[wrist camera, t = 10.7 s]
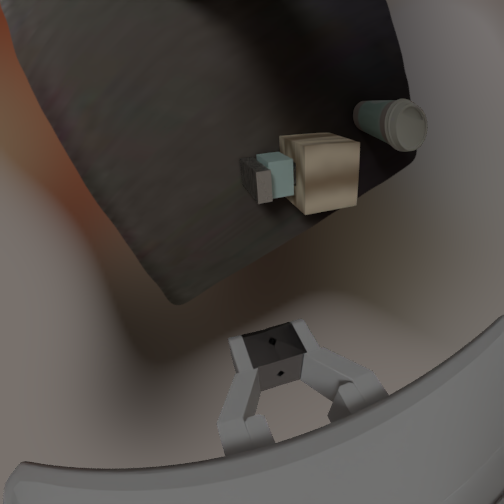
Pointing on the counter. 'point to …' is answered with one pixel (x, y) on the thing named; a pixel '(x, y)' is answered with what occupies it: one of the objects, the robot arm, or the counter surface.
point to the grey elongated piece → (258, 179)
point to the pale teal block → (279, 173)
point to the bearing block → (323, 171)
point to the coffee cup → (392, 122)
